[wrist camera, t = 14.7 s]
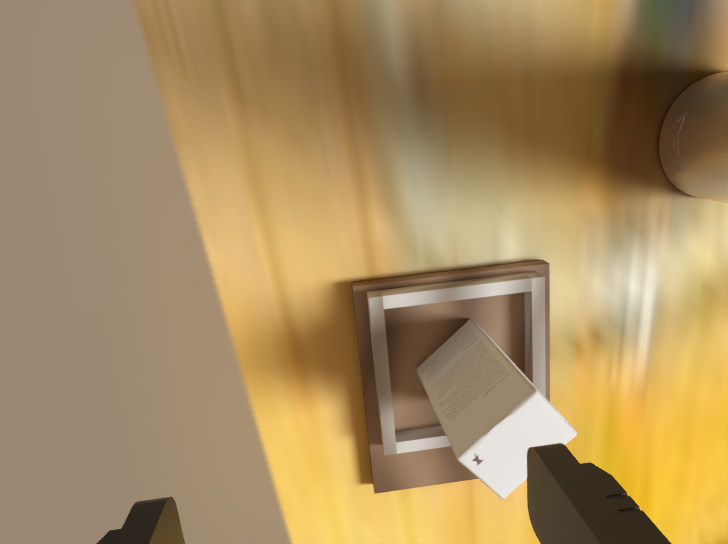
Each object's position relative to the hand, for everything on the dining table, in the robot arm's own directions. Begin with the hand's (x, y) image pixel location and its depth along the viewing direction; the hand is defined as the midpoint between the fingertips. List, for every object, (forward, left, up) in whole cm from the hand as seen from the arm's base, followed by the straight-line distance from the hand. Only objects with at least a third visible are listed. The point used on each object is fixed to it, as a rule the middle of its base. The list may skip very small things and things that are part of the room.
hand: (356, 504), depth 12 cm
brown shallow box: (-9, +12, -28) cm, 32 cm away
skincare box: (-9, +10, -27) cm, 30 cm away
